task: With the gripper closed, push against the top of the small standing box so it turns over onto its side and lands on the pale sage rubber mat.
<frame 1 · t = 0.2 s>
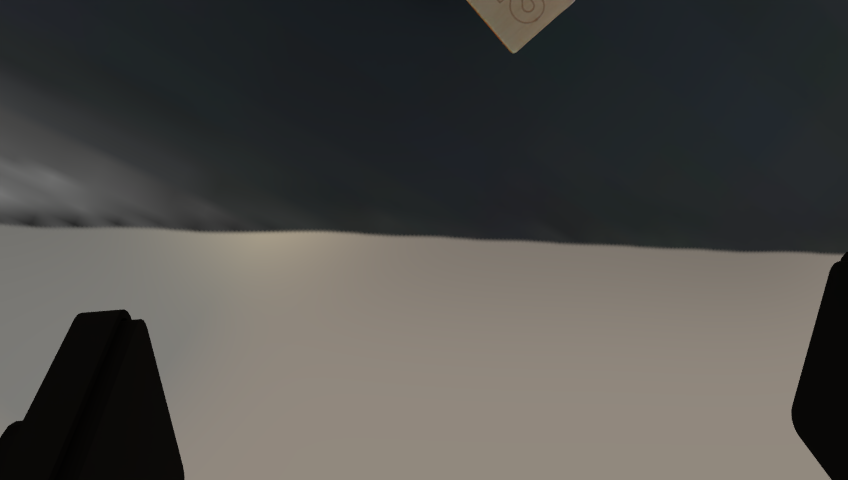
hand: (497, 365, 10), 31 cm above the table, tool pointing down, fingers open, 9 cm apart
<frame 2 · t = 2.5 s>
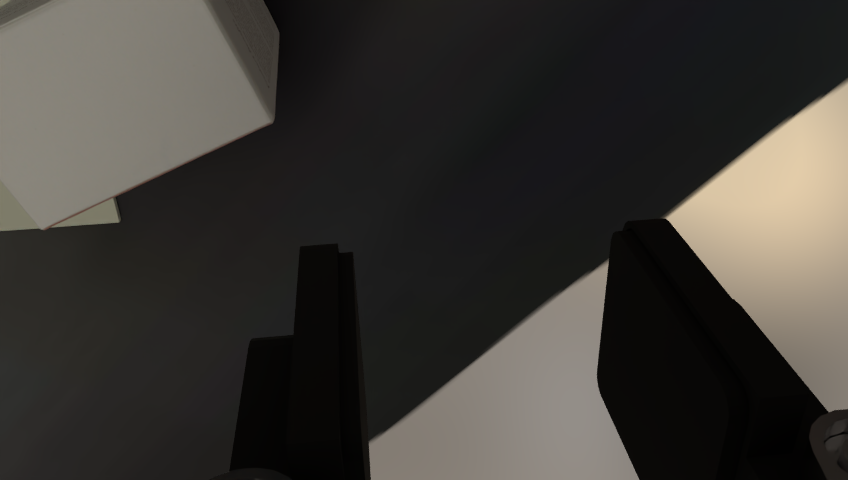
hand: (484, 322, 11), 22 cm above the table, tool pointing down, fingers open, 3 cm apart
small box: (160, 10, 30), on the table, touching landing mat
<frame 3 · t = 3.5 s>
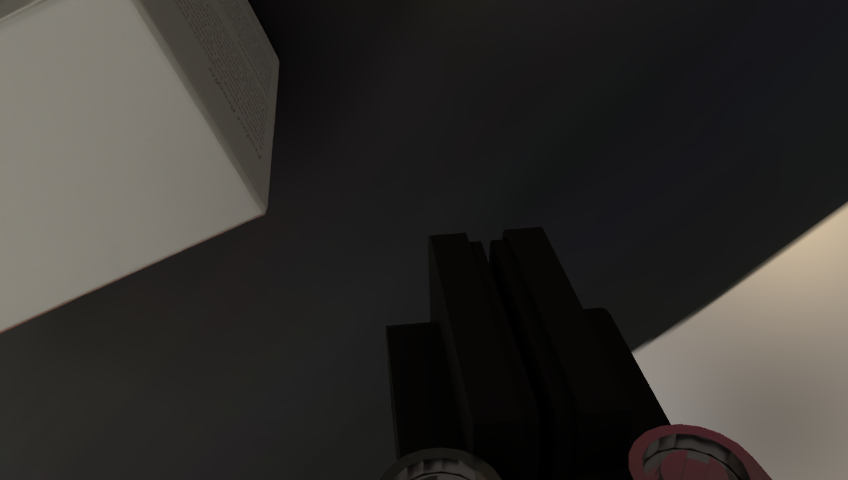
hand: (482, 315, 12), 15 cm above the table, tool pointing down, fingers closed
small box: (127, 33, 24), on the table, touching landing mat
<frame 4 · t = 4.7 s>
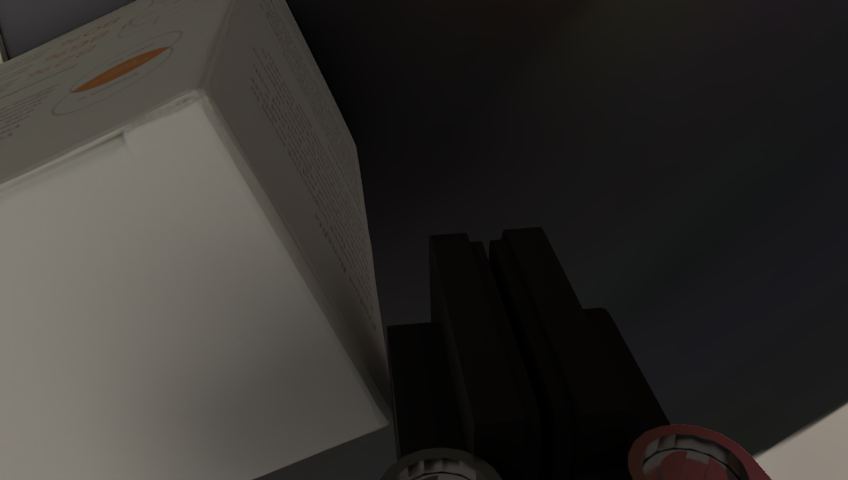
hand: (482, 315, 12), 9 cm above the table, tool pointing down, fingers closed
small box: (170, 111, 19), on the table, touching gripper, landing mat
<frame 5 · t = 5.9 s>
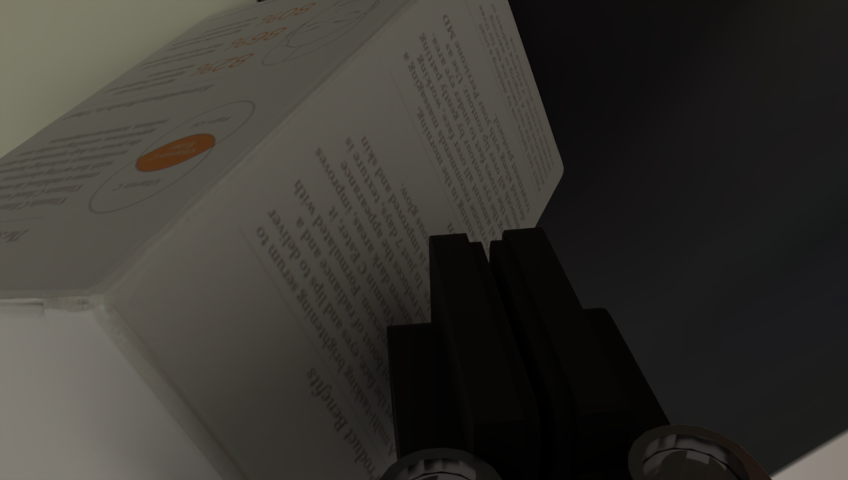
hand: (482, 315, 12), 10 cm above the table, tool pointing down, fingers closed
small box: (386, 82, 18), point 2 cm above the table, touching gripper, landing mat
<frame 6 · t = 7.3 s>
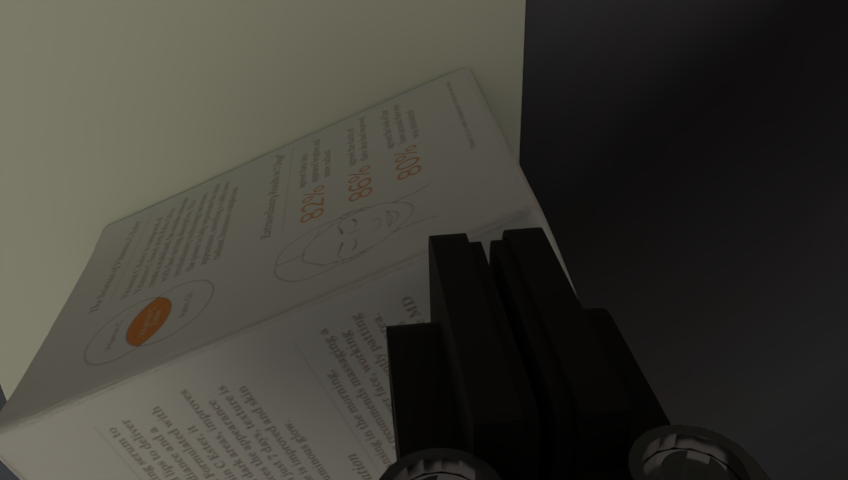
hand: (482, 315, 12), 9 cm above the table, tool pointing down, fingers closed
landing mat: (224, 117, 19), on the table
small box: (551, 221, 16), point 4 cm above the table, touching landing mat
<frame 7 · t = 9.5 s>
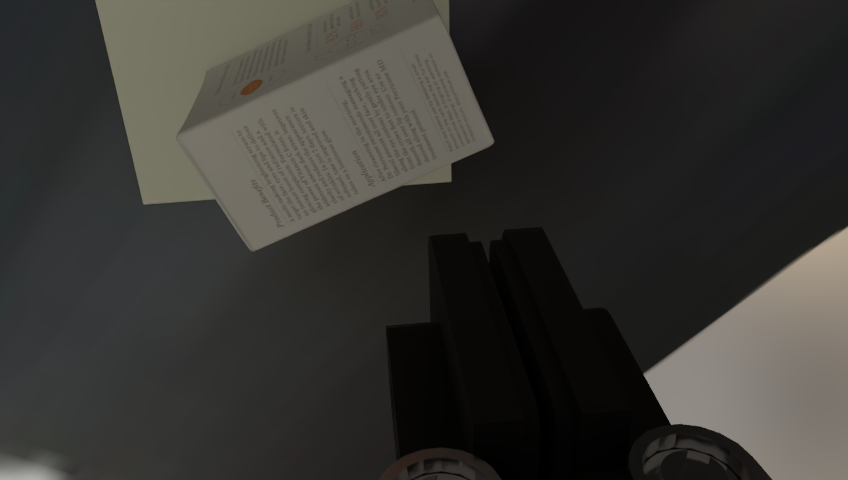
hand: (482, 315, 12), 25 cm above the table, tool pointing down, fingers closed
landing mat: (277, 4, 33), on the table
small box: (459, 50, 31), point 4 cm above the table, touching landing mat
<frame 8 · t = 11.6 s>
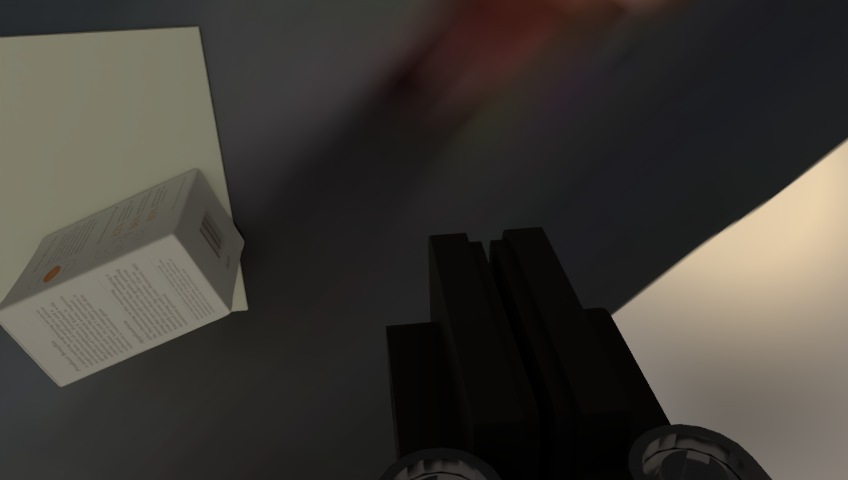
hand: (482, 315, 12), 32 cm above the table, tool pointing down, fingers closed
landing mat: (94, 189, 44), on the table
small box: (217, 235, 41), point 4 cm above the table, touching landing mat
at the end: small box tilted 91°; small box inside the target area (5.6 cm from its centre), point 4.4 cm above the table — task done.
